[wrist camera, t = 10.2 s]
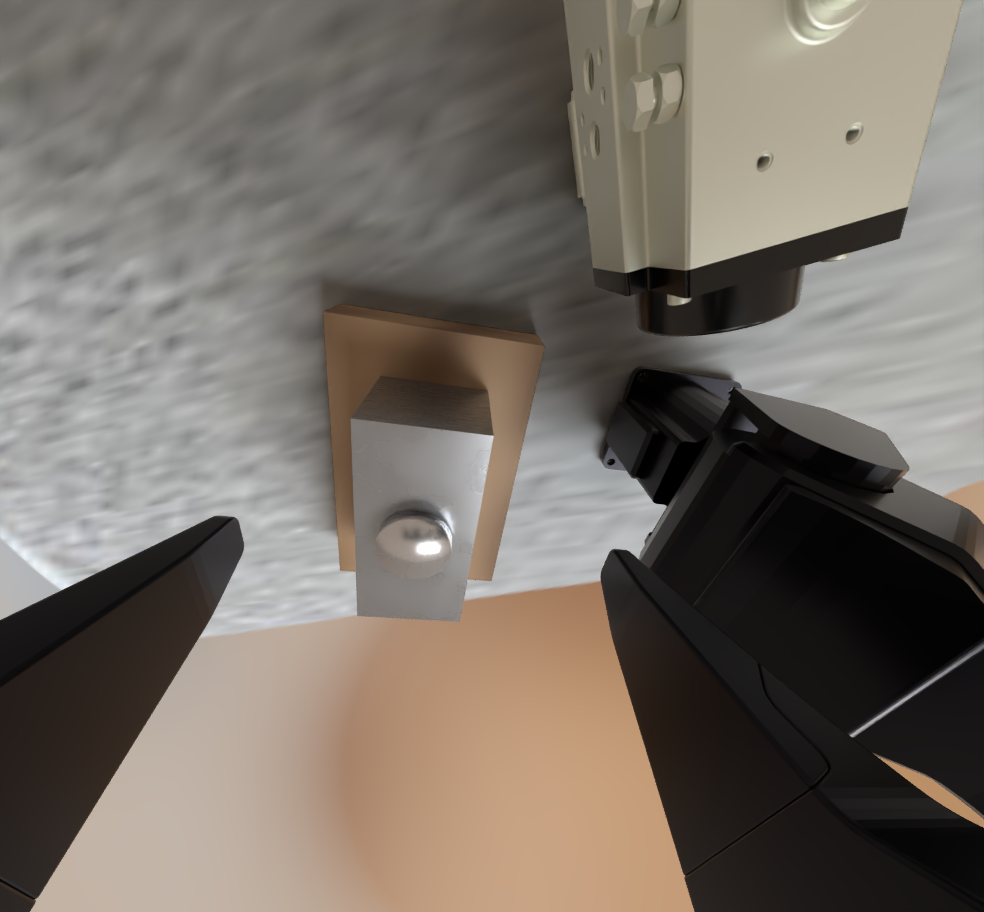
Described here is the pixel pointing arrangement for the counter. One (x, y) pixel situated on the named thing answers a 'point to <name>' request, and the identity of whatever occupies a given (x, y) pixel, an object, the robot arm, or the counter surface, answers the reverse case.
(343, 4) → the counter surface
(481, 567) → the walnut stand
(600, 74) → the pneumatic valve
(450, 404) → the housing
